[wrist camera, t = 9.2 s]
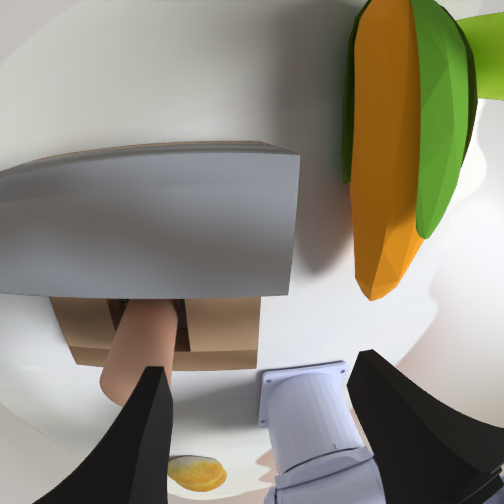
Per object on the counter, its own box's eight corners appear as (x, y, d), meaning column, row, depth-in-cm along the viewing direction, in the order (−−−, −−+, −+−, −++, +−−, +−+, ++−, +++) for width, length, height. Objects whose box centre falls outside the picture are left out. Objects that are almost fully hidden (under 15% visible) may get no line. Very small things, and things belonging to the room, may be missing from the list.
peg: (179, 325, 20) (170, 415, 13) (132, 319, 20) (106, 405, 12) (181, 283, 19) (168, 374, 12) (129, 277, 18) (93, 362, 11)
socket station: (252, 345, 22) (268, 431, 15) (85, 343, 20) (55, 419, 13) (260, 141, 16) (300, 155, 8) (42, 158, 14) (-42, 188, 7)
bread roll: (215, 451, 30) (217, 477, 26) (229, 472, 34) (232, 493, 30) (156, 454, 29) (154, 478, 26) (178, 475, 33) (178, 496, 30)
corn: (494, 5, 6) (449, 331, 14) (425, 25, 13) (397, 273, 21) (382, -58, 5) (344, 345, 13) (333, -6, 12) (311, 272, 20)
